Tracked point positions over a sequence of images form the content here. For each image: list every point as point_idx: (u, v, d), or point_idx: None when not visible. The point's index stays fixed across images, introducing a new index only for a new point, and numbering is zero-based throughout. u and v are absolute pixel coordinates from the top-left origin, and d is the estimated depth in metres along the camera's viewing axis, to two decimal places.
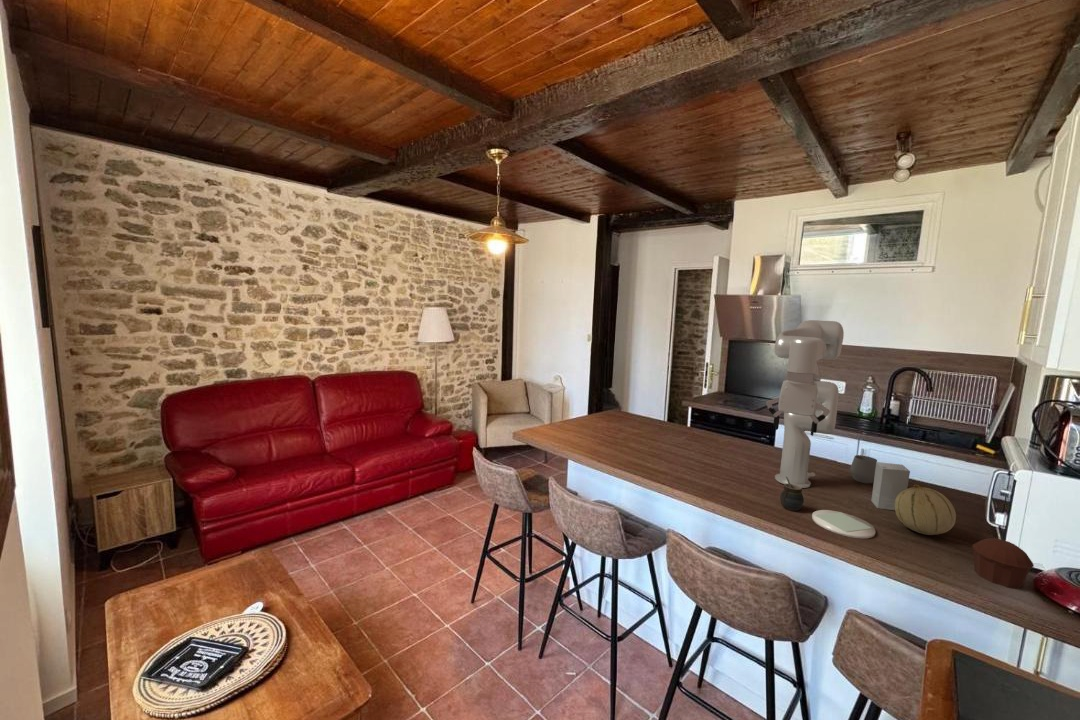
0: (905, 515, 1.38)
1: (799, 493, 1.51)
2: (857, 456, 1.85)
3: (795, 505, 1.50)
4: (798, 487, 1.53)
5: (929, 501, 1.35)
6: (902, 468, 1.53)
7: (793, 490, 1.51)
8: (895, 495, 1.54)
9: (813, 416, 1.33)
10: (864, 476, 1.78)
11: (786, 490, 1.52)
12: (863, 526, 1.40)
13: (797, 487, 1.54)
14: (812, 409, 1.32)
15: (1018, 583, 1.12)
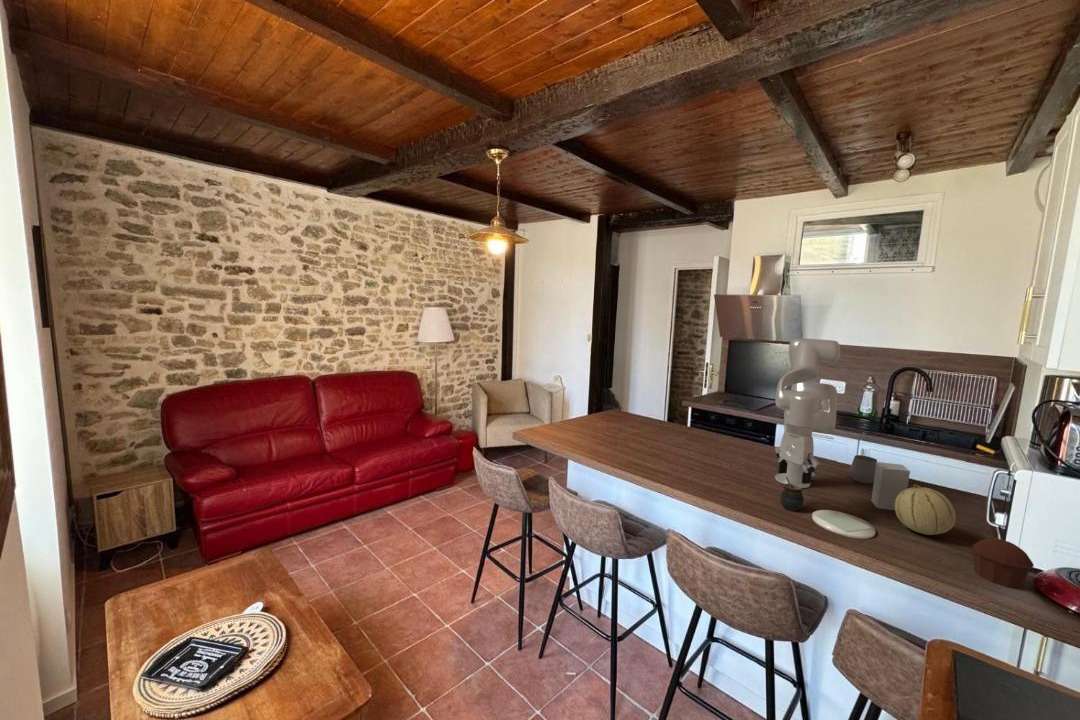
0: (905, 515, 1.38)
1: (799, 493, 1.51)
2: (857, 456, 1.85)
3: (795, 505, 1.50)
4: (798, 487, 1.53)
5: (929, 501, 1.35)
6: (902, 468, 1.53)
7: (793, 490, 1.51)
8: (895, 495, 1.54)
9: None
10: (864, 476, 1.78)
11: (786, 490, 1.52)
12: (863, 526, 1.40)
13: (797, 487, 1.54)
14: None
15: (1018, 583, 1.12)
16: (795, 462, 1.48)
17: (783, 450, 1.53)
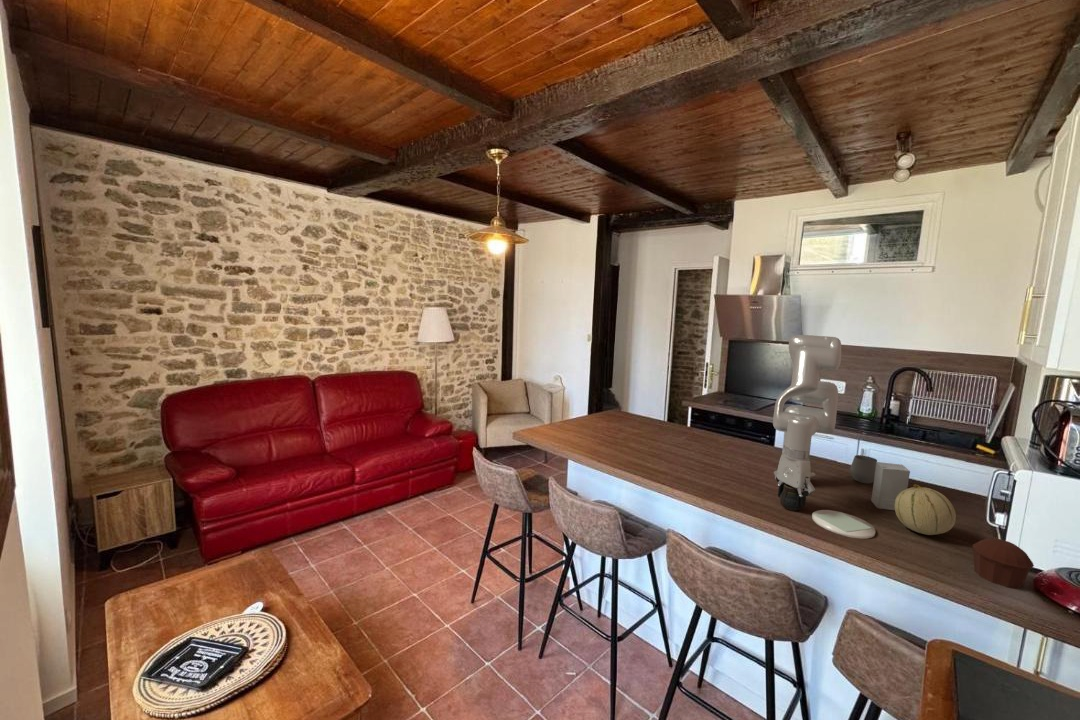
0: (905, 515, 1.38)
1: None
2: (857, 456, 1.85)
3: (794, 505, 1.50)
4: None
5: (929, 501, 1.35)
6: (902, 468, 1.53)
7: (792, 490, 1.51)
8: (895, 495, 1.54)
9: None
10: (864, 476, 1.78)
11: (786, 490, 1.52)
12: (863, 526, 1.40)
13: None
14: None
15: (1018, 583, 1.12)
16: (792, 485, 1.50)
17: (780, 472, 1.54)
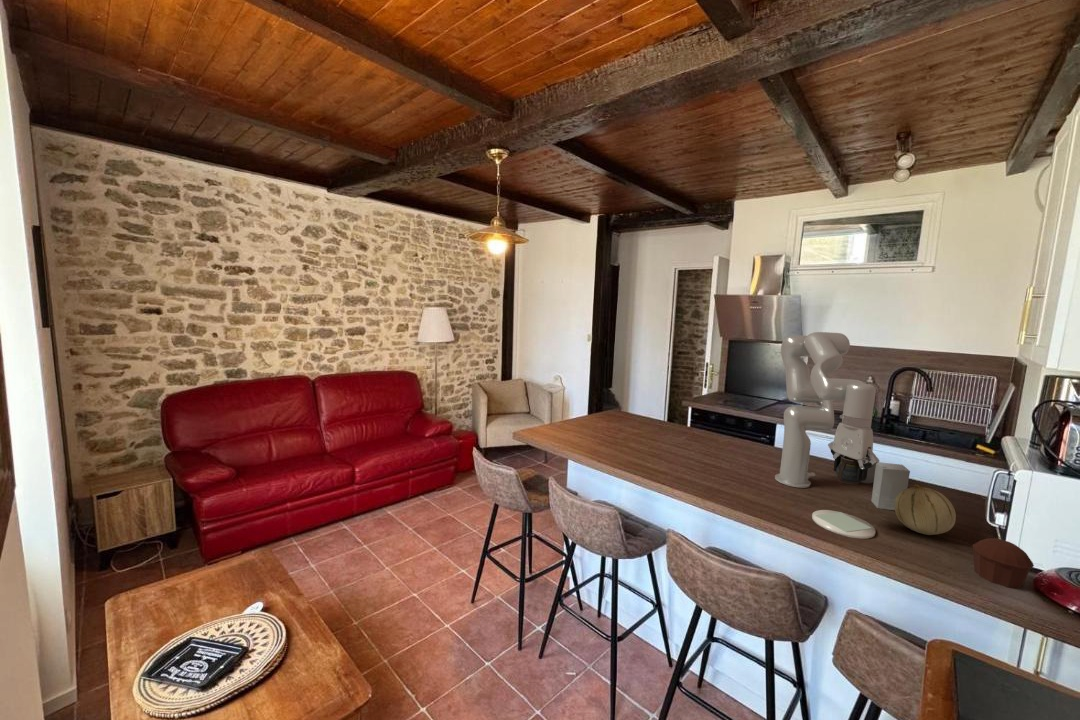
0: (905, 515, 1.38)
1: None
2: None
3: (854, 479, 1.37)
4: None
5: (929, 501, 1.35)
6: (902, 468, 1.53)
7: (852, 462, 1.38)
8: (895, 495, 1.54)
9: None
10: None
11: (844, 462, 1.39)
12: (863, 526, 1.40)
13: None
14: None
15: (1018, 583, 1.12)
16: (852, 457, 1.37)
17: (837, 443, 1.41)
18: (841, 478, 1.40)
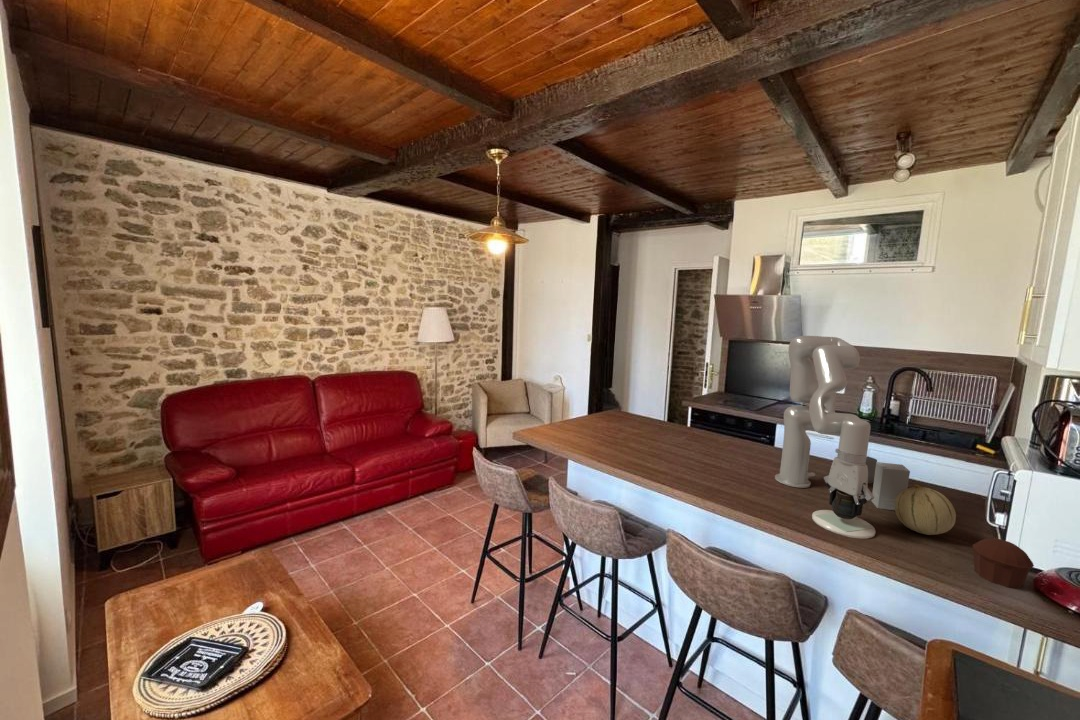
0: (905, 515, 1.38)
1: (854, 500, 1.39)
2: None
3: (849, 514, 1.39)
4: None
5: (929, 501, 1.35)
6: (902, 468, 1.53)
7: (847, 497, 1.39)
8: (895, 495, 1.54)
9: None
10: None
11: (839, 497, 1.41)
12: (863, 526, 1.40)
13: None
14: None
15: (1018, 583, 1.12)
16: (848, 492, 1.38)
17: (833, 478, 1.43)
18: (837, 513, 1.41)
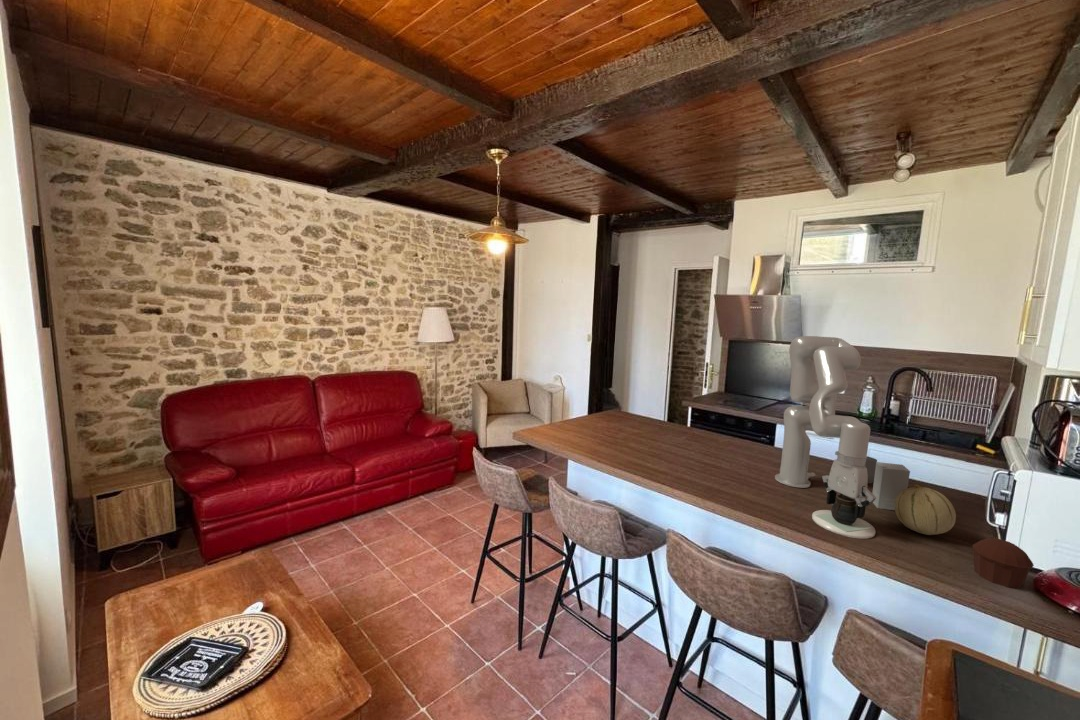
0: (905, 515, 1.38)
1: (853, 506, 1.39)
2: None
3: (849, 519, 1.39)
4: (851, 499, 1.42)
5: (929, 501, 1.35)
6: (902, 468, 1.53)
7: (846, 502, 1.39)
8: (895, 495, 1.54)
9: None
10: None
11: (839, 502, 1.41)
12: (863, 526, 1.40)
13: (850, 499, 1.43)
14: None
15: (1018, 583, 1.12)
16: (847, 495, 1.38)
17: (833, 480, 1.43)
18: (836, 518, 1.41)
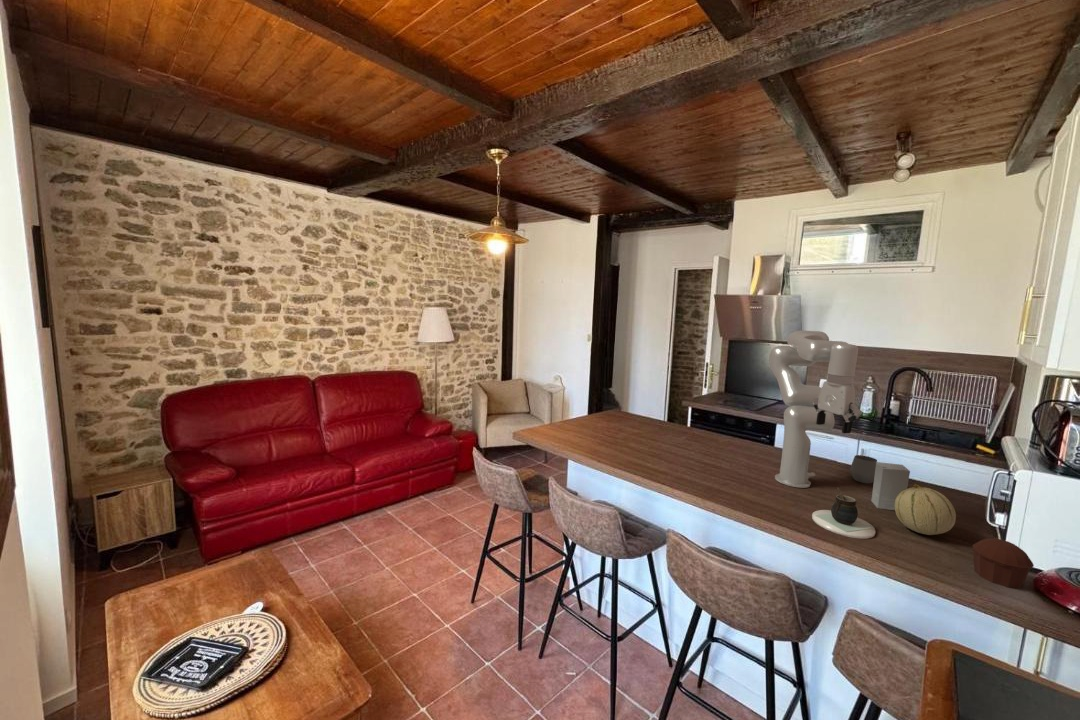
0: (905, 515, 1.38)
1: (853, 506, 1.39)
2: (857, 456, 1.85)
3: (849, 519, 1.39)
4: (851, 499, 1.42)
5: (929, 501, 1.35)
6: (902, 468, 1.53)
7: (846, 502, 1.39)
8: (895, 495, 1.54)
9: None
10: (864, 476, 1.78)
11: (838, 502, 1.41)
12: (863, 526, 1.40)
13: (850, 499, 1.43)
14: None
15: (1018, 583, 1.12)
16: (835, 412, 1.46)
17: (822, 401, 1.51)
18: (836, 518, 1.41)
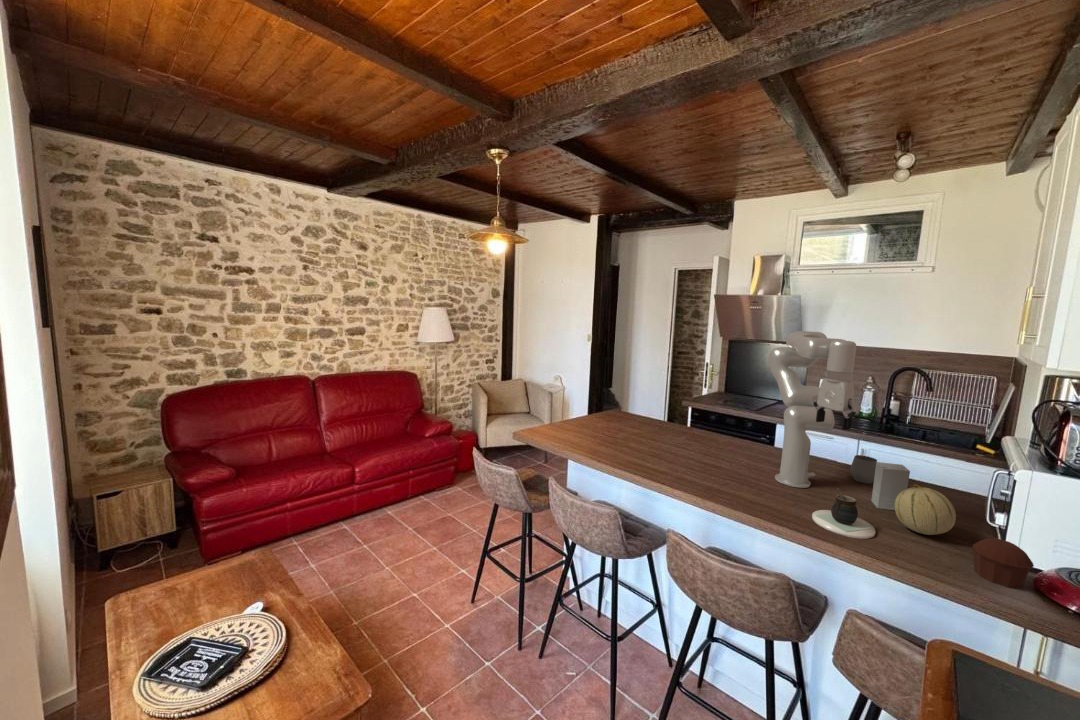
0: (905, 515, 1.38)
1: (853, 506, 1.39)
2: (857, 456, 1.85)
3: (849, 519, 1.39)
4: (851, 499, 1.42)
5: (929, 501, 1.35)
6: (902, 468, 1.53)
7: (846, 502, 1.39)
8: (895, 495, 1.54)
9: None
10: (864, 476, 1.78)
11: (838, 502, 1.41)
12: (863, 526, 1.40)
13: (850, 499, 1.43)
14: None
15: (1018, 583, 1.12)
16: (835, 408, 1.47)
17: (821, 398, 1.51)
18: (836, 518, 1.41)
